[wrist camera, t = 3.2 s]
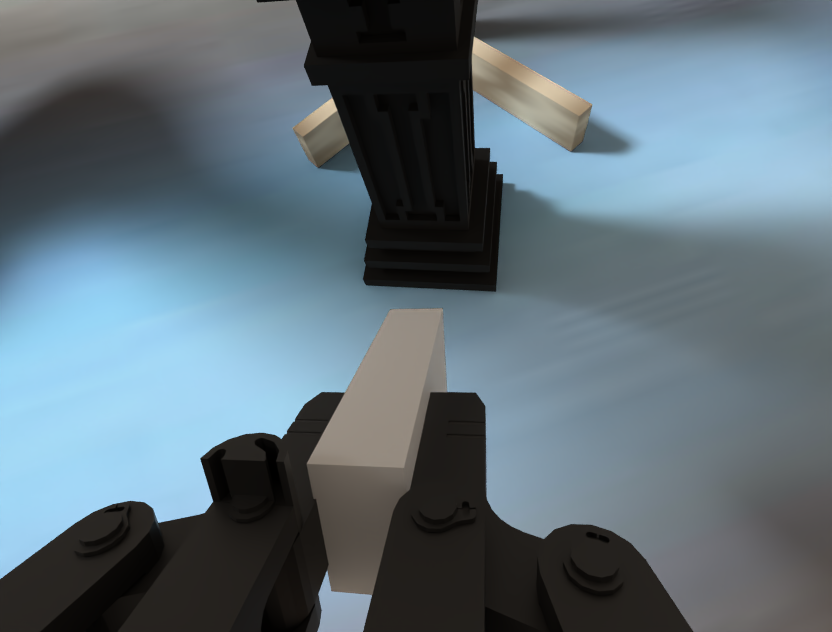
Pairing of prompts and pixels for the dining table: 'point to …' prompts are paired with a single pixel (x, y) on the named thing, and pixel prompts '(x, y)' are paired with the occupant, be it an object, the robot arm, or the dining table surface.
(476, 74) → the centring cradle
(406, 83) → the chess piece
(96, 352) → the dining table surface
